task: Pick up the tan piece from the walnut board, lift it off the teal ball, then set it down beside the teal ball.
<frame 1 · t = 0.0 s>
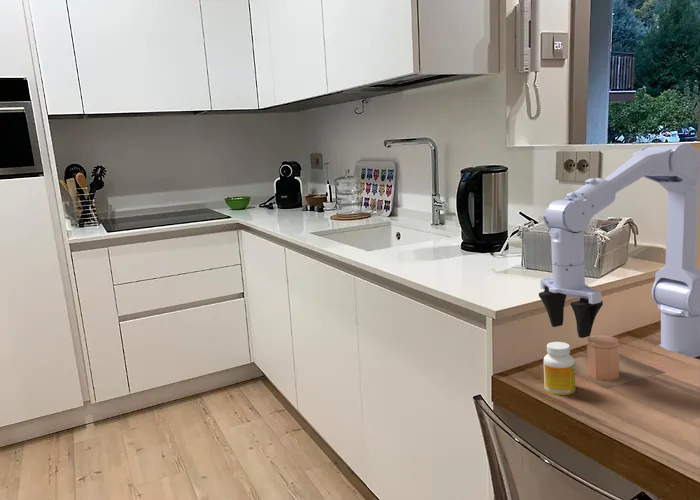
hand: (570, 331, 104), 10 cm above the table, fingers open, 7 cm apart
teal ball: (603, 366, 104), point 3 cm above the table, touching walnut board
tan piece: (603, 374, 104), point 1 cm above the table, touching walnut board
walnut board: (608, 373, 107), on the table
supplement bottle: (560, 395, 100), on the table
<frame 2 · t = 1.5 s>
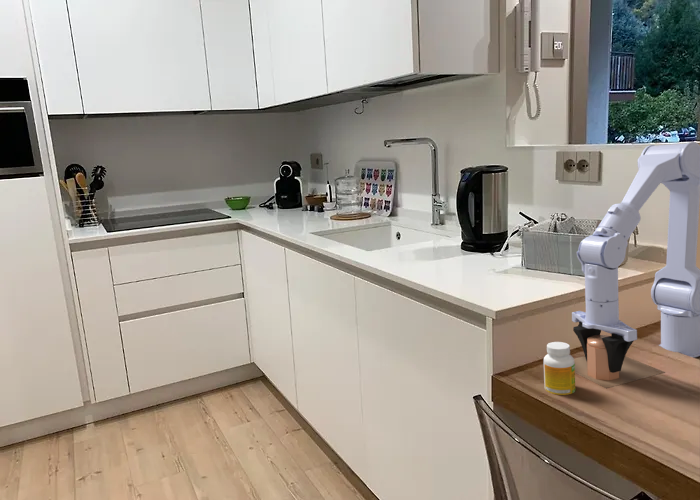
hand: (603, 365, 104), 3 cm above the table, fingers closed on tan piece, 5 cm apart
tan piece: (603, 374, 104), point 1 cm above the table, touching gripper, walnut board
everything else where it was.
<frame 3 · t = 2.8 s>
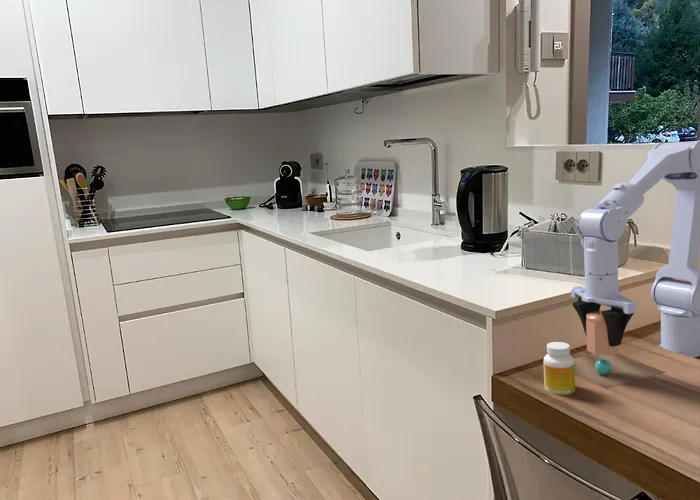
hand: (602, 340, 103), 8 cm above the table, fingers closed on tan piece, 5 cm apart
tan piece: (602, 349, 103), point 6 cm above the table, touching gripper
everything else where it was.
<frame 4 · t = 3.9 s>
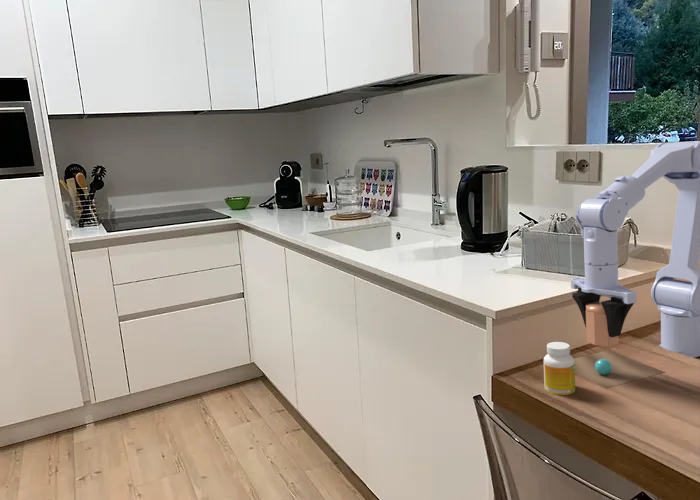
hand: (602, 331, 103), 10 cm above the table, fingers closed on tan piece, 5 cm apart
tan piece: (602, 340, 103), point 8 cm above the table, touching gripper
everything else where it was.
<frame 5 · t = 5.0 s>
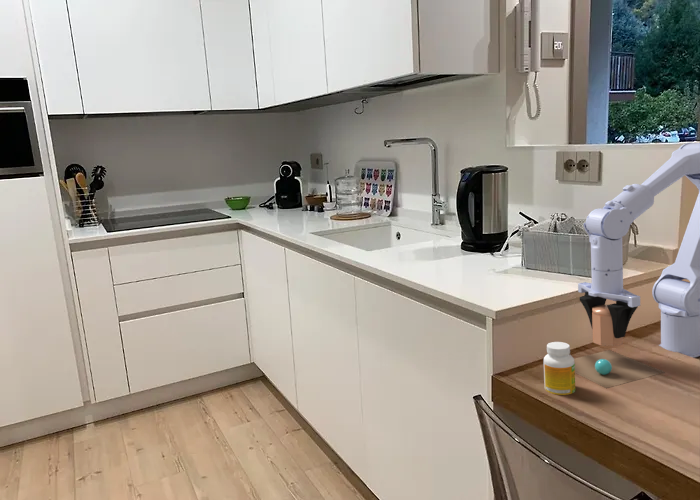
hand: (608, 332, 109), 7 cm above the table, fingers closed on tan piece, 5 cm apart
tan piece: (607, 341, 110), point 5 cm above the table, touching gripper
everything else where it was.
when the fingers open (4 cm above the table, at t = 6.1 s): tan piece stays where it is, resting on walnut board.
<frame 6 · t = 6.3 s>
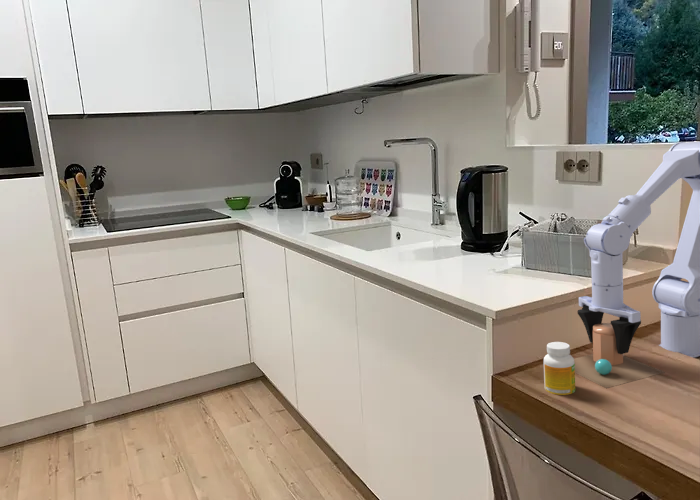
hand: (608, 347, 110), 4 cm above the table, fingers open, 7 cm apart
tan piece: (608, 359, 110), point 1 cm above the table, touching walnut board
everything else where it was.
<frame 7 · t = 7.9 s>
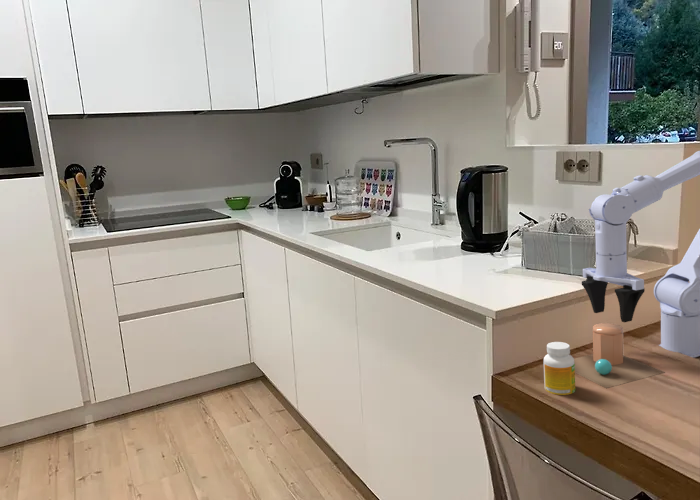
hand: (612, 316, 112), 9 cm above the table, fingers open, 7 cm apart
nothing on the table moved.
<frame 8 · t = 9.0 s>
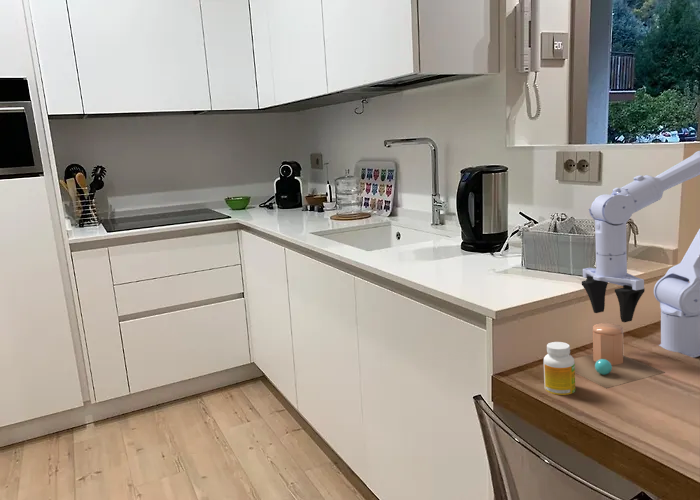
hand: (612, 316, 112), 9 cm above the table, fingers open, 7 cm apart
nothing on the table moved.
at the end: tan piece 0.1 cm from the target spot, point 1.2 cm above the table; tan piece tilted 0°; the gripper is holding nothing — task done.
